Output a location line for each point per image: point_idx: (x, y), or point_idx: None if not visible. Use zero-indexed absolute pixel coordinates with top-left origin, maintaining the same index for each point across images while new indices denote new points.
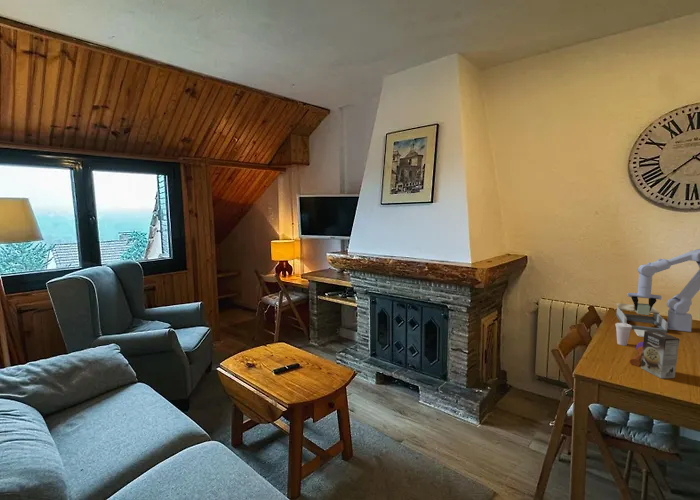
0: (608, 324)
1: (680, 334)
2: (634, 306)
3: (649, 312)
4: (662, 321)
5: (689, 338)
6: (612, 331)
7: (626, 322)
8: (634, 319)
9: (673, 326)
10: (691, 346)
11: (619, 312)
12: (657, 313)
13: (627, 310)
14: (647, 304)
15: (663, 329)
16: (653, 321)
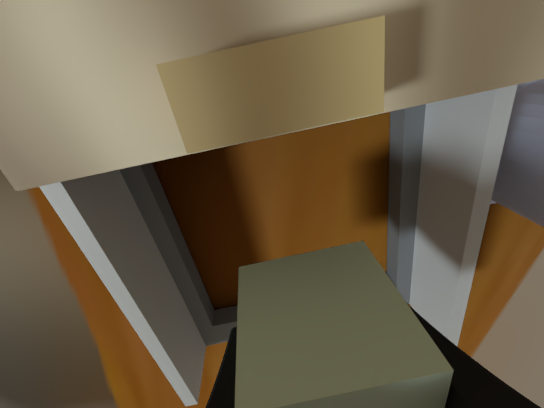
0: (102, 320)
1: (476, 265)
2: (197, 144)
3: (409, 103)
4: (443, 275)
5: (489, 303)
6: (165, 402)
7: (202, 368)
8: None
9: (500, 204)
10: None
11: None
12: (508, 83)
13: (126, 164)
14: (431, 404)
15: (404, 296)
16: None
